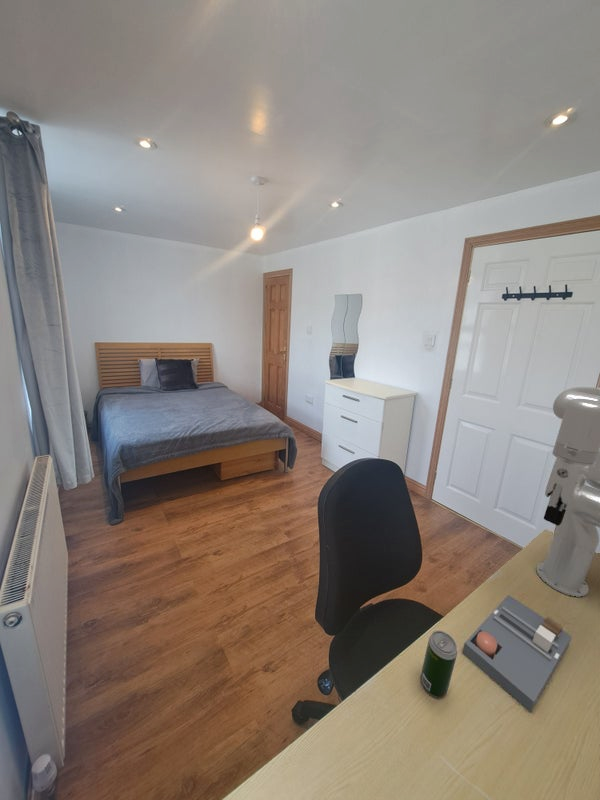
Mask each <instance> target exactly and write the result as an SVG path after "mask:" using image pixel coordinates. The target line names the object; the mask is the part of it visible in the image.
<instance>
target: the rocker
mask: <svg viewBox="0 0 600 800" xmlns="http://www.w3.org/2000/svg"><path fill="white" fill-rule="evenodd" d="M541 626H543V627H544V628H546V629H547V630H549V631H550V632H552V633H553V634H555V635H556V636H555V637H557V636H558V635H559V633H560V632H561V630H563V628H564V625H562V624H561V623H559V622H558V621H556V620H554V619H553V618H552V617H549V616H547V617H545V620H544V621H543V622H542V624H541Z"/></svg>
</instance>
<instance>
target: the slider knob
mask: <svg viewBox="0 0 600 800" xmlns="http://www.w3.org/2000/svg"><path fill="white" fill-rule="evenodd" d="M555 636H556V635H555V634H553V633H552V632H550V631H549V630H547V629H546V628H544V627H543V626H541V625H540V626H539V628H538V629H537V631H536V632H535V635H534V638H533V641H532V642H533V643H534V644H536V645H537V646H538V647H540V648H541V649H542V650H544V651H545V652H547V653H548V651H549V650H550V648H551V646H552V644H553V641H554V639H555Z"/></svg>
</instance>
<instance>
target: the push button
mask: <svg viewBox="0 0 600 800" xmlns="http://www.w3.org/2000/svg"><path fill="white" fill-rule="evenodd" d="M474 645H475V646H477V647H478V648H479V649H480V650H481V651H483V652H484V653H485V654H486V655H487V656H489V657H490V658H491V659H492V660H493V659H494V657H495V656H496V654H495V651H496V648H497V641H496V640H495V638H494V637H493V636H492V635H490V634H489V633H487V632H483V631H482V632H479V633H478V635H477V639H476V641H475V642H474Z"/></svg>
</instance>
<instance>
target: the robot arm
mask: <svg viewBox="0 0 600 800" xmlns="http://www.w3.org/2000/svg"><path fill="white" fill-rule="evenodd" d="M552 410H553V414H554V415H555V416H556V417H557V418H558V419H561V422H560V427H559V430H558V433H557V436H556V440H555V443H554V446H553V450H552V455H553V456H554V458H555V461H554V464H553V466H552V469H551V471H550V475H549V477H548V482H547V484H546V488H545V490H544V491H545V492H544V495H545V497H546V498H549V501H548V503H547V506H546V509H545V513H544V516H543V520H544V521H546V522H549V523H551V524H552V525H555V526H556V528H555V531H554V534H553V536H552V539H551V543H550V546H549V549H548V552H547V554H546V559H545V561H540V562H538V563H537V564H536V568H535V569H536V570H537V571H536V570H535V571H536V573H537V575H538V576H539V578H540V577H541V578H540V579H541V580H542V582H544V583H545V582H546V583H545V584H546V585H548V586H549V587H551V588H553V590H556V591H558V592H560V593H562V594H565V595H567V596H570V595H571V597H574V596H576V597H577V598H582V597H581V596H583V597H586V596H587V595H588V593H589V589H590V588H589V585H588V583H587V582H586V581H585V580H586V577H587V574H588V571H589V570H590V566H591V563H592V561H593V559H594V555H595V553H596V551H597V548H598V546H599V542H600V535H599V532H598V529H597V527H598V528H600V387H591V386H590V387H586V386H585V387H584V386H582V387H581V386H579V387H572V388H568V389H566V390H563V391H562V392H560V393H559V394H558V396H557V397H556V398H555V400H554V401H553V405H552ZM585 483H587V484H588V485H585ZM586 594H587V595H586ZM585 595H586V596H585ZM576 597H575V598H576Z"/></svg>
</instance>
